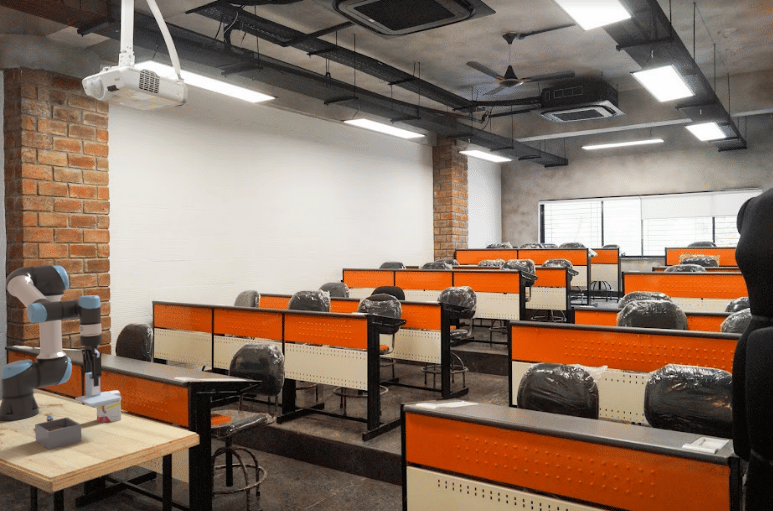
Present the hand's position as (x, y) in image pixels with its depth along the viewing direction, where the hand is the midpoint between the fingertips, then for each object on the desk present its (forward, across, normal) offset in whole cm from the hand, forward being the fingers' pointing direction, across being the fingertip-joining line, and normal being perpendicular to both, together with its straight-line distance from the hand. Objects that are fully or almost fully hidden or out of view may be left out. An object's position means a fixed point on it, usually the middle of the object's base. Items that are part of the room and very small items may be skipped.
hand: (93, 393), depth 226 cm
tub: (+15, +4, -14) cm, 21 cm away
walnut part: (+14, +1, -14) cm, 20 cm away
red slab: (+15, -15, -11) cm, 24 cm away
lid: (+3, +5, 0) cm, 6 cm away
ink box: (+15, -8, +9) cm, 19 cm away
